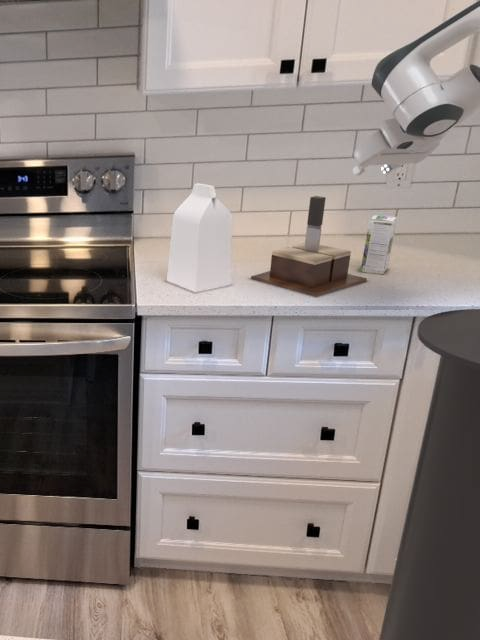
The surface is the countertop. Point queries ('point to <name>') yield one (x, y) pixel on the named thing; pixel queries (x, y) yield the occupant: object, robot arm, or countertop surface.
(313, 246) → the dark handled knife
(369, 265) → the syrup box
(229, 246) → the milk
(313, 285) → the brown square slotted block
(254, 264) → the countertop surface
